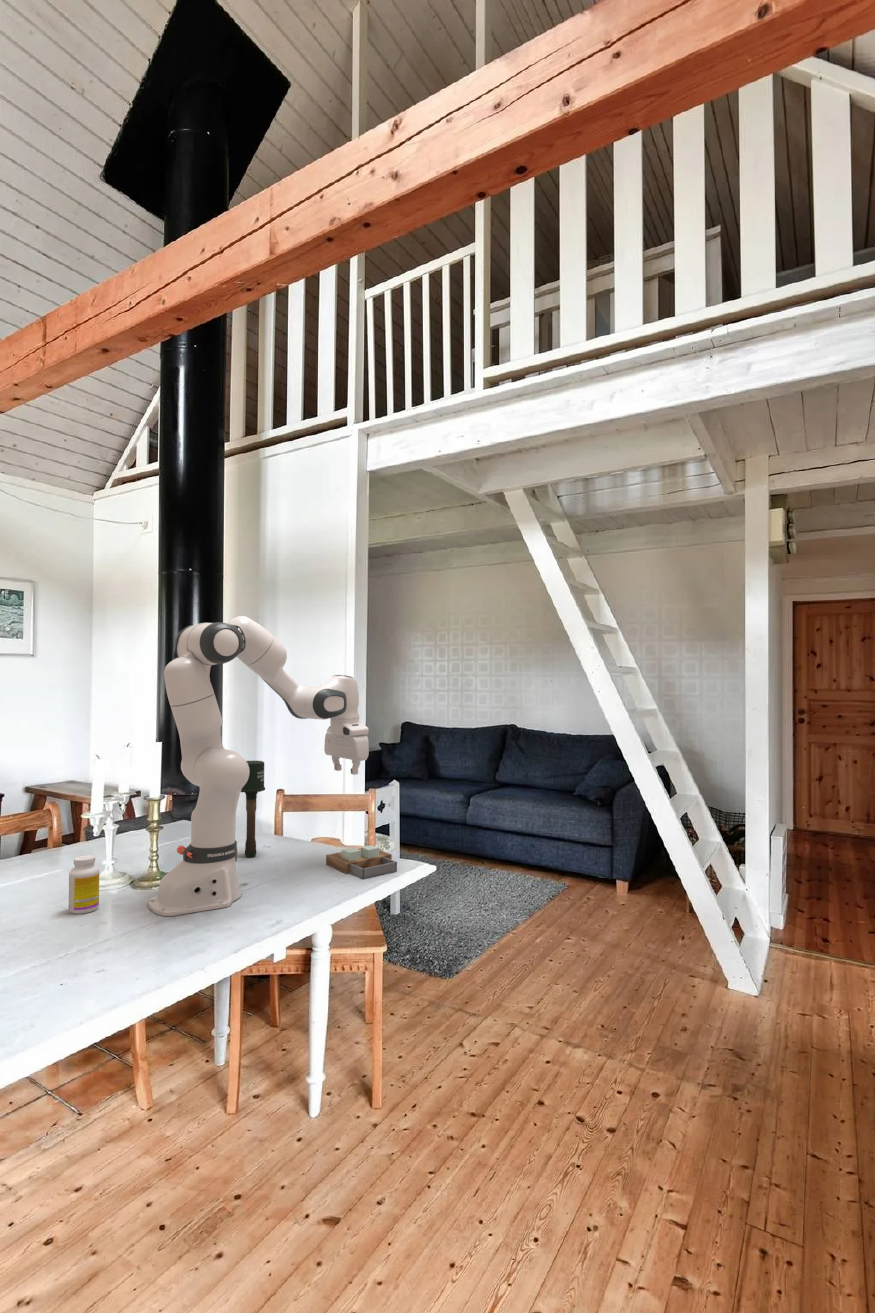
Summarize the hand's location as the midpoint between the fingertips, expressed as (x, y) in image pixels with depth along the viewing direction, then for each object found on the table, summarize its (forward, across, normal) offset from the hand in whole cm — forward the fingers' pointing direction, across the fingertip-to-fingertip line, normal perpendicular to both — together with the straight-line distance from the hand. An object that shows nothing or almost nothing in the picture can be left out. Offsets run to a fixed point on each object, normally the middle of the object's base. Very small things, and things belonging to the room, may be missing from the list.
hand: (346, 772), depth 205 cm
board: (+28, +3, +2) cm, 28 cm away
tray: (+28, +13, +1) cm, 31 cm away
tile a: (+25, +5, -2) cm, 26 cm away
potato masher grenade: (+28, -26, -20) cm, 43 cm away
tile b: (+25, +6, +4) cm, 26 cm away
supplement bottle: (+26, -7, -72) cm, 77 cm away
